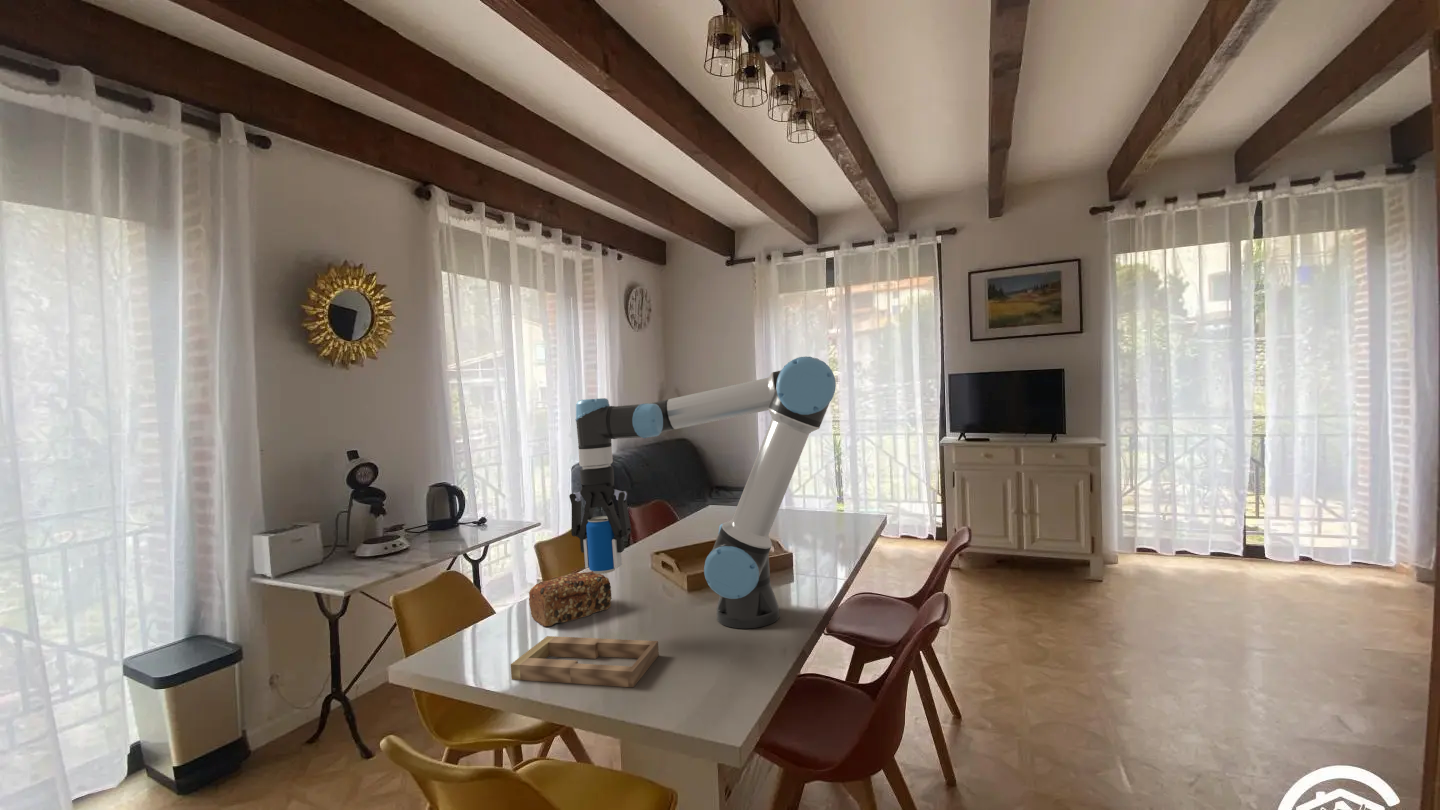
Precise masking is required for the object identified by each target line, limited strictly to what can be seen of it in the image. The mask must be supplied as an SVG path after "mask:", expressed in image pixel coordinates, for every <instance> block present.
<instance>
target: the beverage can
mask: <svg viewBox="0 0 1440 810" xmlns="http://www.w3.org/2000/svg"><path fill="white" fill-rule="evenodd" d="M586 529H587V543H588V557H589V568H588V570H589V571H590V572H591V571H593V573H596V574H601V575H604V574H608V573H612V572H615V570H616V568H614V561H613V547H612V539H614V538H615V536H614V533H613V530H612V528H611V525H610V523H609V520H608V518H607V515H602V516H601V515H600V516H599V515H598V516H594V517H592V518H591V519H590V520H588V523H587V525H586Z"/></svg>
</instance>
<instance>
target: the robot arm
mask: <svg viewBox="0 0 1440 810" xmlns="http://www.w3.org/2000/svg"><path fill="white" fill-rule="evenodd" d="M836 385H837V383H836V378H835V374H834V372H833V371H832V369H831V368H830V366H829V365H828V364H827V363H826V362H824V361H823V360H821V359H819V358H817V357H813V356H799V357H796V358H794V359H792V360H789V362H787V364H785V365H784V366H783V367H782V369H780V370H776V371H773V372H771V373H770V375H769V376H768V377H764V378H761V379H756V380H751V381H746V382H741V383H738V384H733V385H728V386H724V387H720V388H715V389H709V390H706V391H705V390H704V391H700V392H696V393H692V394H686V395H682V396H678V397H673V398H669V399H664V400H658V401H655V402H650V403H639V404H627V405H617V406H616V405H610V402H609V399H608V398H606V397H605V398H602V397H601V398H589V399H587V398H585V399H579V400H578V401H577V402H576V403H575V423H576V424H575V425H576V431H577V432H576V433H577V434H576V435H577V441H578V442H577V445H578V446H577V448H578V463H579V467H581V468H580V470H579V475H580V484H581V487H580V491H578V492H577V491H575V492H572V493H569V495H568V496H569V500H570V503H571V530H570V531H571V536H572V537H576V538H578V539H579V542H580V543H579V544H580V551H581V554H582V553H583V554H584V555H583V556H584V568H585V569H589V557H588V543H587V529H586V525H587V523H588V520H590V519H591V518H593V516H594V512H595V509H596V507H597V508H601V509H602V510H603V511H604V512H605V514H606V515H605V516H607V518H608V520H609V523H610V525H611V528H612V530H613V533H614V536H615V538H614V539H612V547H613V561H614V568H615V569H618V568H619V567H620V566H622V565H623V563H622V562H623V561H622V553H623V552H624V551H625V539H624V537H626V536H628V535H630V534H631V533H632V527H631V520H630V513H629V507H628V502H627V501H628V495H629V492H628V490H623V491H622V490H619V489H617V487H616V486H615V474H614V473H615V472H614V471H615V470H614V467H613V465H611V464H612V463H613V462H614V460H613V459H614V458H613V447H612V446H613V445H612V443H613V442H612V440H619V439H638V438H639V439H640V438H643V439H648V438H651V437H652V438H653V437H658V436H660V435H661V434H662V433H664V432H669V431H673V430H678V429H682V428H683V429H684V428H688V427H693V426H698V425H702V424H706V423H707V424H708V423H712V422H716V421H722V420H728V419H731V418H737V417H740V416H747V415H752V414H757V413H761V412H766V411H769V414H770V416H771V417H770V418H771V420H770V422H769V425H768V427H767V430H766V433H765V435H764V438H763V440H762V443H761V445H760V447H759V450H758V452H757V455H756V458H755V460H754V462H753V466H752V468H751V470H750V473H749V476H748V477H747V481H746V483H745V486H744V487H743V491H742V493H741V496H740V499H739V501H738V503H737V505H736V508H735V511H734V513H733V516H732V518H731V519H730V520H727V521H725V522H723V523H721V524H719V527H718V533H717V538H716V539H715V543H714V545H713V548H712V549H711V551H710V552H709V554H707V556H706V558H705V561H704V567H703V574H704V578H705V580H706V583H707V585H708V586H709V588H710V589H711V590H712V591H713V592H714V593H715V594H717V595H719V597H718V602H717V606H716V620H717V622H718V623H719V624H721V625H723V626H725V627H728V628H733V629H757V628H763V627H766V626H770V625H771V624H774V623H775V622H777V621H778V620H779V619H780V607H779V603H778V600H777V598H776V596H775V592H774V589H773V587H772V585H771V575H770V574H771V573H770V557H769V554H770V551H771V548H772V546H773V543H772V540H771V538H770V535H769V534H770V533H771V529H772V528H773V525H774V522H775V520H776V517H777V515H778V512H779V510H780V507H781V505H782V503H783V500H784V497H785V496H786V492H787V490H788V488H789V485H790V482H791V480H792V477H793V476H794V472H795V470H796V467H797V465H798V463H799V460H800V458H801V455H802V453H803V450H804V448H805V445H806V443H807V440H808V438H809V435H810V434H811V433H813V432H814V431H815V432H816V431H817V430H819V429H820V428H821V426H822V422H823V420H824V418H825V415H826V412H827V410H828V407H829V405H830V403H831V402H832V400H833V398H834V395H835V393H836V389H837V388H836ZM614 497H615V499H616V500H617V508H618V514H619V515H617V511H616V508H615V504H614V502H613V500H614ZM582 498H583V499H582ZM582 500H584V501H585V505H584V508H583V510H584V513H583V515H582ZM582 516H583V517H582Z"/></svg>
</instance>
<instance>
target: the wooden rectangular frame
mask: <svg viewBox="0 0 1440 810" xmlns="http://www.w3.org/2000/svg"><path fill="white" fill-rule="evenodd" d="M659 651H660V650H659V640H644V639H642V640H641V639H640V640H639V639H638V640H637V639H620V638H619V639H618V638H617V639H616V638H599V637H598V638H596V637H578V636H577V637H575V636H557V635H554V636H553V635H547V636H546V637H544V638H543V639H541V640H540V641H539V642H538V643H536V644H535V645H533V646H532V647H531V648H530V649H528V650H527V651H526V652H525V653H524V654H522V655H521V656H520V657H518V658H516V660H514V661H513V662H511V663H510V673H511V674H510V677H511V678H510V679H511V680H515V681H516V680H518V681H519V680H520V681H529V682H530V681H531V682H547V683H548V682H549V683H560V684H561V683H564V684H575V685H576V684H577V685H578V684H579V685H590V686H591V685H592V686H594V685H595V686H606V687H607V686H609V687H623V688H634V687H635V686H636V685H637V684H638V682H639V681H640V680H641V679H642V677H643V676H644V675H645V674H646V672H647V671H648V670H649V669H650V668H651V666H652V665H653V663H654V662H656V660H657V658H658V657H659V656H660V653H659ZM549 657H556V659H554V658H553V659H552V658H549ZM598 657H603V658H604V657H605V658H621V659H636V661H635V662H634V663H633V664H632V665H631V666H629V665H627V666H626V665H610V664H593V663H579V662H578V661H579V660H576V658H577V659H594V660H596V659H597V658H598ZM557 658H571V659H572V660H571V659H557ZM573 658H575V660H573Z"/></svg>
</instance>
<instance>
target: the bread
mask: <svg viewBox="0 0 1440 810" xmlns="http://www.w3.org/2000/svg"><path fill="white" fill-rule="evenodd" d="M611 588H612V587H611V583H610V580H609V578H608V577H606V576H604V574H596V573H593V571H591V570H590V571H587V572H586V571H584V572H572V573H569V574H565V575H560V576H559V577H554V578H551V579H549V580H541V581H540V582H538V583H537V584H535V585H534V586H533V587H532V588H530V590H529V592H528V596H529V598H528V606H529V609H530V615H531V618H532V619H533V621H535V622H536V623H538V624H539V625H541V626H542V627H543V628H544V627H552V626H553V625H555V624H561V623H562V624H563V623H568V622H570V621H573V620H578V619H581V618H585V617H588V616H591V615H593V614H596V613H598V612H601V611H607V610H609V609H610V608H611V607H612V606H611V605H612V604H611V603H612V599H613V598H612V589H611Z"/></svg>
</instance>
